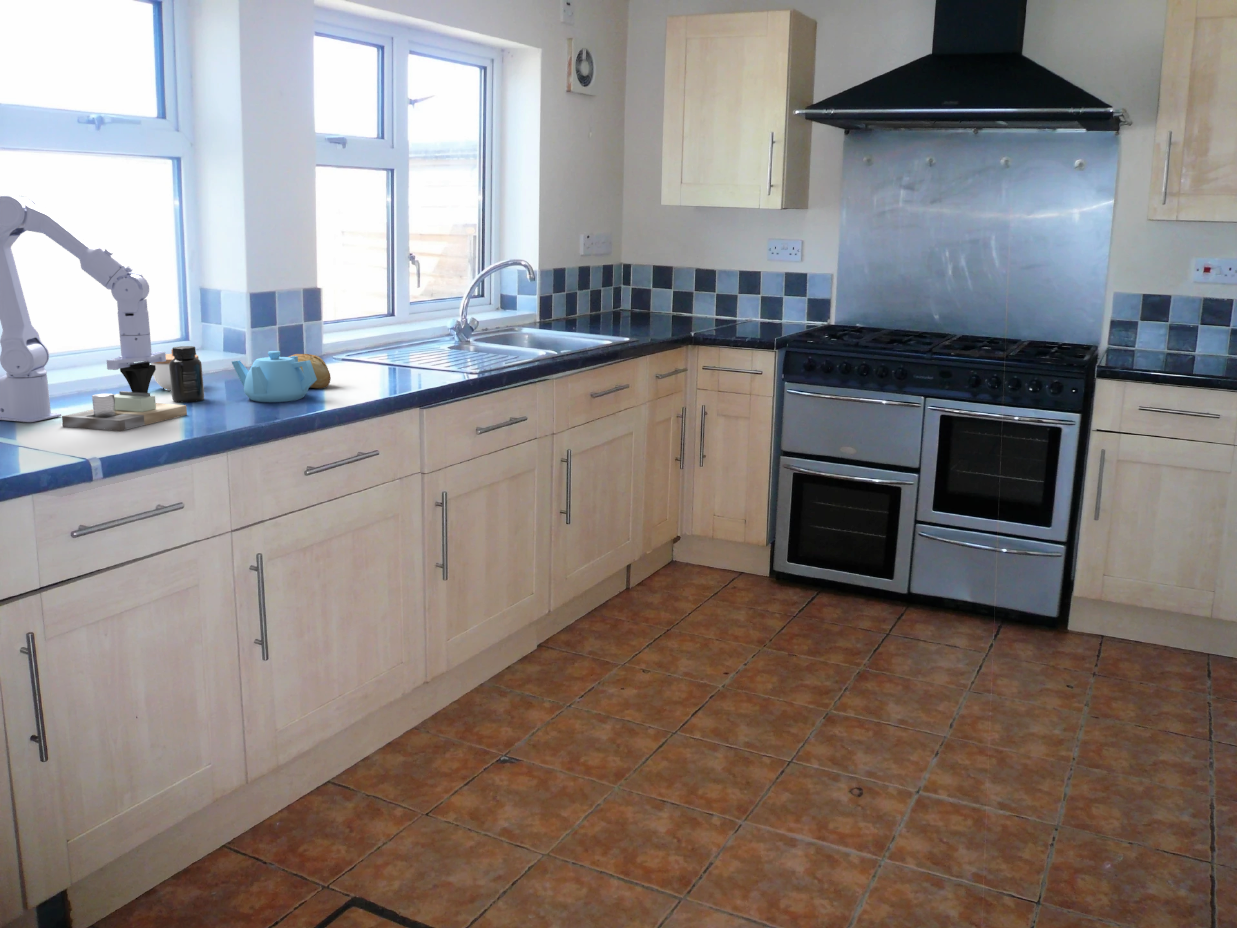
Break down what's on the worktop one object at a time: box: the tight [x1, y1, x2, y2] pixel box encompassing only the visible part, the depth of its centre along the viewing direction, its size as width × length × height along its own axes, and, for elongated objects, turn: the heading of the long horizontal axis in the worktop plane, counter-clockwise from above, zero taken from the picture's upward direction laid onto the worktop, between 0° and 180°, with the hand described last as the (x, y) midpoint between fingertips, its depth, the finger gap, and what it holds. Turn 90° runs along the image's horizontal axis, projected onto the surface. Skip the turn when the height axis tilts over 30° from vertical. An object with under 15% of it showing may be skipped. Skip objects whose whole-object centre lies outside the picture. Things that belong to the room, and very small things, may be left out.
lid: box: [114, 390, 157, 412], centre depth 227 cm, size 9×4×3 cm, turn 71°
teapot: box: [231, 350, 317, 403], centre depth 254 cm, size 15×15×11 cm
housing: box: [61, 402, 188, 432], centre depth 227 cm, size 14×19×2 cm
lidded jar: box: [150, 349, 200, 391], centre depth 266 cm, size 11×11×9 cm
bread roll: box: [288, 353, 332, 389], centre depth 271 cm, size 10×15×8 cm, turn 73°
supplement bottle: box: [169, 345, 205, 403], centre depth 250 cm, size 7×7×12 cm
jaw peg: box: [91, 393, 116, 418], centre depth 221 cm, size 4×4×6 cm
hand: (140, 400), depth 230 cm, fingers closed
